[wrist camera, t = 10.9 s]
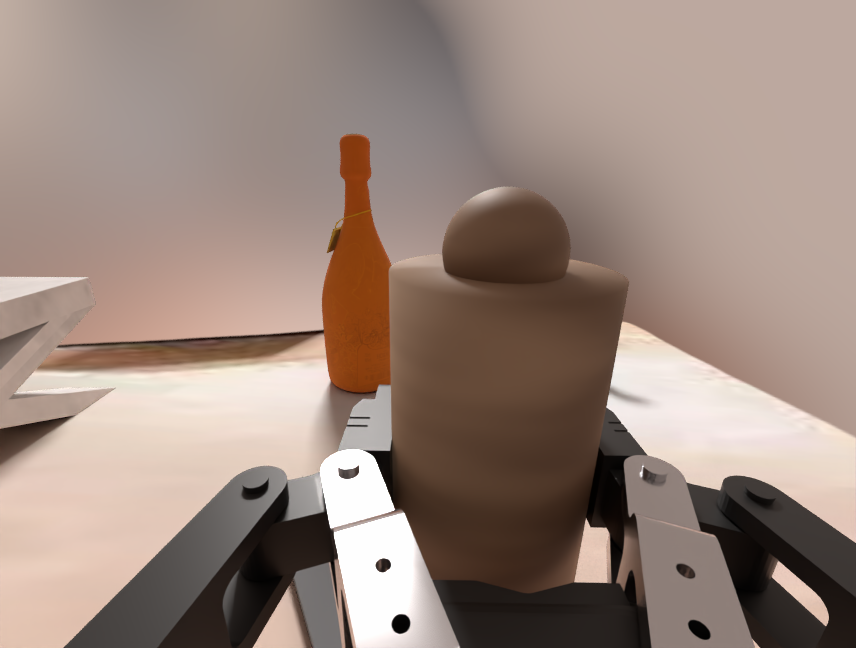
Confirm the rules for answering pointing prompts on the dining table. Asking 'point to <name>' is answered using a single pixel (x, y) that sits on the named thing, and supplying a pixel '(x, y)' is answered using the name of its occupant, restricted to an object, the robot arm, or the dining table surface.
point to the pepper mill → (500, 392)
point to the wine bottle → (357, 284)
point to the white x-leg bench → (39, 345)
